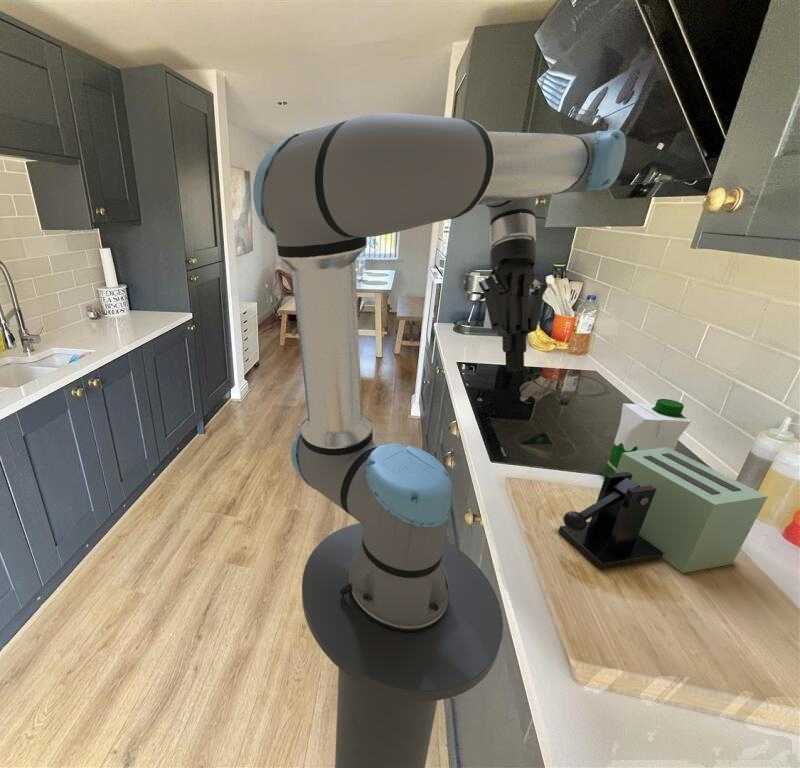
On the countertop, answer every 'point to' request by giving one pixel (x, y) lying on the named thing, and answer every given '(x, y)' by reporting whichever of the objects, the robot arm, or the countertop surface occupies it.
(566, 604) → the countertop surface
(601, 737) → the countertop surface
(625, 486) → the black lever handle
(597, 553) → the lever bracket
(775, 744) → the countertop surface
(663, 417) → the milk carton
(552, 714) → the countertop surface
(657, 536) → the toaster
